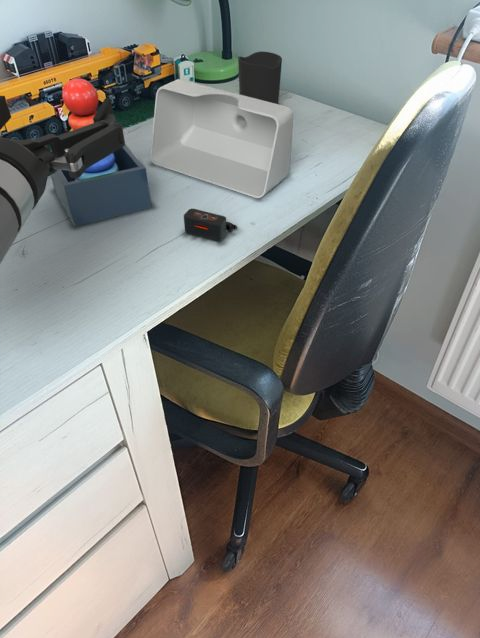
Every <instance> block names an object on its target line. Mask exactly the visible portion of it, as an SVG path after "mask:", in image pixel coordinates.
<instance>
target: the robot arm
mask: <svg viewBox="0 0 480 638" xmlns="http://www.w3.org/2000/svg"><path fill="white" fill-rule="evenodd" d="M96 112H97V113H96V114H95V116H94V118H93V121H94V123H92V124H90V125H87V126H84V127H81V128H78V129H75V130H73V131H70V130H69V131H67V132H64V133H62V134H59V135H56V134H53V133H48V134H44V135H42V136H39V137H35V138H31V137H29V138H26V139H18V138H10V139H9V138H6V137H2V136H1V135H0V265H1V264H2V262H3V260H4V259H5V257H6V255H7V254H8V252H9V250H10V248H11V247H12V245H13V244H14V242H15V240H16V238H17V236H18V234H19V233H20V232H21V230H22V228H23V227H24V225H25V224H26V222H27V221H28V219H29V217H30V215H31V214H32V212H33V210H34V209H35V208H36V207H37V205H38V203H39V202H40V200H41V198H42V196H43V195H44V193H45V190H46V187H47V183H48V180H49V177H51V176H50V175H52V174H54V173H55V172H56V171H57V170H68V171H69V174H70V177H72V178H78V177H80V176H81V175H82V174H83V173H84V171H85V170H86V169H87V168H89V167H90V166H92V165H94V164H95V163H97V162H99V161H100V160H102V159H104V158H105V157H107V156H108V155H110V154H112V153H113V152H115V151H117V150H118V149H120V148H122V147H123V146H125V144H126V140H125V134H124V129H123V124H122V123H121V122H116V117H115V114H114V108H113V102H112V98H108V97H107V98H104V99H103V101H102V103H101V104H100V106H99V107H98V108H97V111H96ZM11 119H12V114H11V112H10V108H9V105H8V102H7V99H6V96H5V95H0V131H1V130H2V129H3V128H4V127H5V125H7V124H8V122H9V121H10V120H11ZM48 145H49V146H50V148H49V147H48ZM50 150H52V152H51V151H50Z"/></svg>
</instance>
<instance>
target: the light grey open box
mask: <svg viewBox="0 0 480 638" xmlns="http://www.w3.org/2000/svg"><path fill="white" fill-rule="evenodd" d="M155 93H156V94H155V100H154V101H155V102H154V103H155V104H154V111H153V123H152V133H151V142H150V143H151V145H150V153H149V154H150V160H151V162H152V163H153V164H154V165H155V166H158V167H161V168H164V169H167V170H171V171H173V172H177V173H180V174H182V175H185V176H188V177H192V178H195V179H197V180H201V181H203V182H207V183H209V184H213V185H215V186H218V187H222V188H224V189H227V190H231V191H233V192H237V193H239V194H243V195H246V196H249V197H251V198H255V199H261V198H262V197H265V195H266V194H268V192H270V191H271V190H272V189H273V188H275V187H276V186H277V185H278V184H279V183H280V182H282V181H283V180H285V178H287V177H288V176H289V175H290V172H291V160H292V159H291V157H292V145H293V130H294V113H293V111H292V109H291V108H290V107H288V106H286V105H282V104H279V103H278V104H275V103H271V102H267V101H263V100H259V99H255V98H251V97H247V96H243V95H240V93H235V92H232V91H227V90H225V89H224V90H223V89H220V88H216V87H211V86H208V85H204V84H200V83H196V82H192V81H188V80H184V79H180V78H177V79H175V80H173V81H171V82H169V83H167V84H164V85H162V86H160V87H159V88H158V89H157V91H156V92H155Z"/></svg>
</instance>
